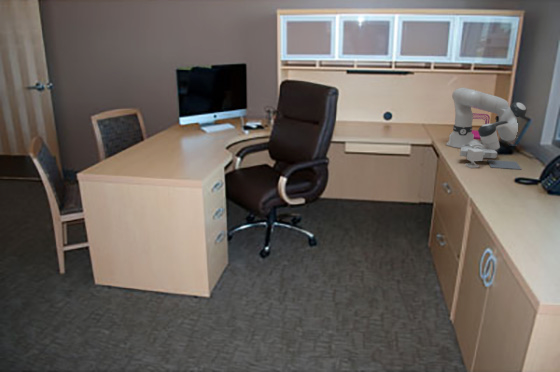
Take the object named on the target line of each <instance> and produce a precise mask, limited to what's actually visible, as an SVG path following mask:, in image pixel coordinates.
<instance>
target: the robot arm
mask: <svg viewBox="0 0 560 372" xmlns="http://www.w3.org/2000/svg"><path fill="white" fill-rule="evenodd" d="M451 96H452V100H453V102H454V112H455V118H454V125H453V127H452V129H453V130H452V132H451V133H450V134H449V136H448V141H447V142H446V144H445V145H446V146H449V147H452V148H457V149H458V148H459V149H460V152H459V156H460V157H466V158H467V152H468V149H476V148H478V149H481V150H483V151H484V153H483V159H484V158H485V159H496V158H497V157H498V151H499V150H500V148H501V146H500V140H499V138H500V139H501V140H502V141H506V142H511V141H514V140H516V139H517V138H516V135H517V132H518V123H517V117H519V115H521V116H524V117H525V118H526V113H527V111H528V110H527V106H526V105H525V104H524V103H523V102H520V101H515V102H513V103H511V104H510V106H509V102H508V101H507V100H506V99H505V98H502V97H500V96H497V95H493V94H490V93H486V92H482V91H480V90H476V89H473V88H468V87H459V88H456V89H454V91H453V92H452V95H451ZM472 108H473V109H478V110H481V111H484V112H487V113H492V114H495V115H496V116H495V122H492V123H489V124H488V123H487V124H485V123H484V124H482V125H480V126H479V127H478V130H477V131H478V132H479V135H480V139H481V140H480V139H473V138H474V135H473V134H472V130H473V120H474V119H473V118H474V116H473V110H472ZM515 138H516V139H515Z"/></svg>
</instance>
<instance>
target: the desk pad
mask: <svg viewBox="0 0 560 372" xmlns="http://www.w3.org/2000/svg"><path fill="white" fill-rule="evenodd" d="M487 163H488V165H489V167H490V168H491V169H503V170H520V171H522V168H521V166H520V164H519V163H518V162H517V161H511V160H494V159H487Z"/></svg>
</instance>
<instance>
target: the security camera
mask: <svg viewBox="0 0 560 372" xmlns="http://www.w3.org/2000/svg"><path fill="white" fill-rule="evenodd" d="M483 153H484V151H483V150H481V149H478V148H476V149H468V152H467V157H466V159H467V161H469V163H468V162H467V163H464V165H465V167H467V168H469V169H475V168H476V169H477V168H480V165H479V164H477V163H476V162H483V160H484V158H483Z"/></svg>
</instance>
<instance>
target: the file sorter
mask: <svg viewBox="0 0 560 372" xmlns="http://www.w3.org/2000/svg"><path fill="white" fill-rule="evenodd" d="M472 113H473V112H472ZM473 120H483V121H484V124H490V120H491V119H490V115H489V114H487V113H476V112H475V113H473ZM472 134H473V135H474V138H473V140H479V141H481V139H480V135H479V132H478V130H475V129H474V130H473V129H472Z"/></svg>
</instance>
